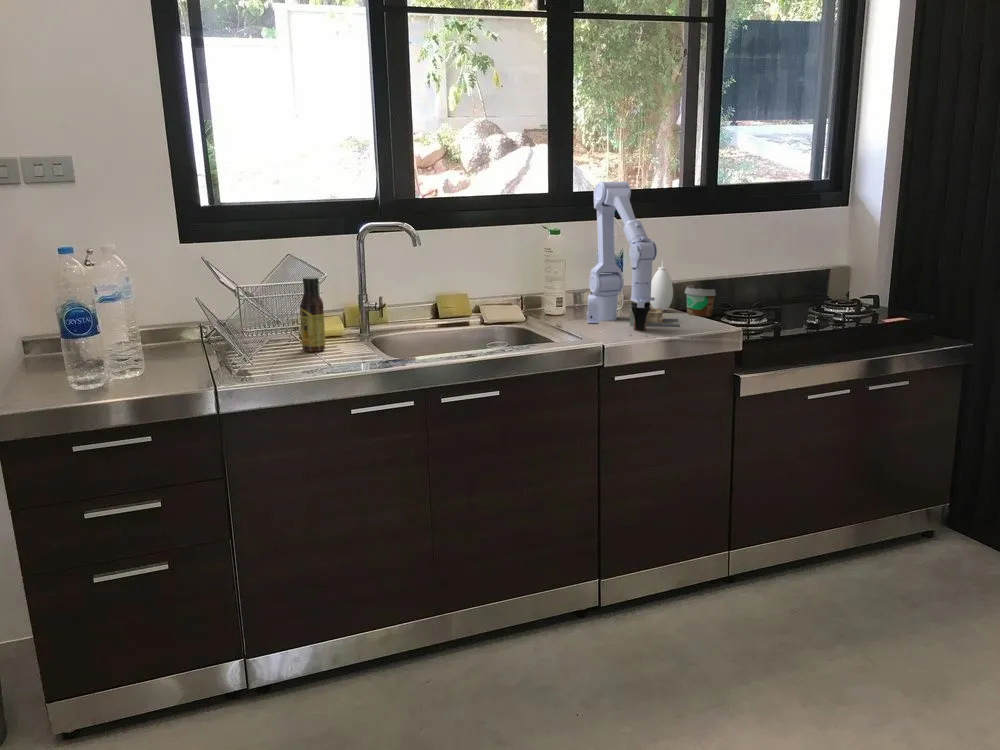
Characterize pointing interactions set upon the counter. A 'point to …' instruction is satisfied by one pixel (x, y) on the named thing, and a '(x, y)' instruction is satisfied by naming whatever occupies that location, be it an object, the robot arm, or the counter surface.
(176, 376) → the counter surface
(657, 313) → the maple block
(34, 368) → the counter surface
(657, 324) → the slide board
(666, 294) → the sauce bottle
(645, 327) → the walnut dowel
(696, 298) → the food container
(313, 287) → the sauce bottle
